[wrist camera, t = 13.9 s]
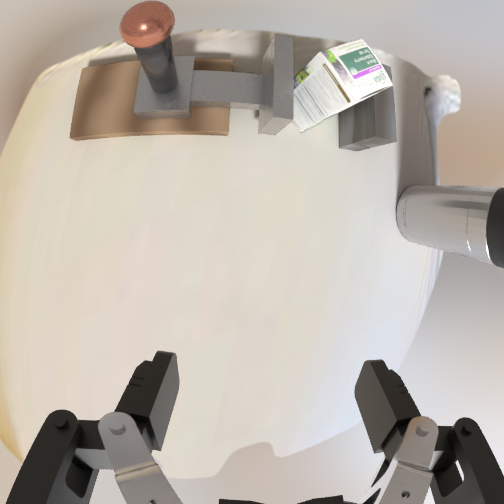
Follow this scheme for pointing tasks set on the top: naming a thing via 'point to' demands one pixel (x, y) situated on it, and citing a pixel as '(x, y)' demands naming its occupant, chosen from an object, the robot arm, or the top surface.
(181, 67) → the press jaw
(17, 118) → the top surface
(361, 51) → the syrup box
